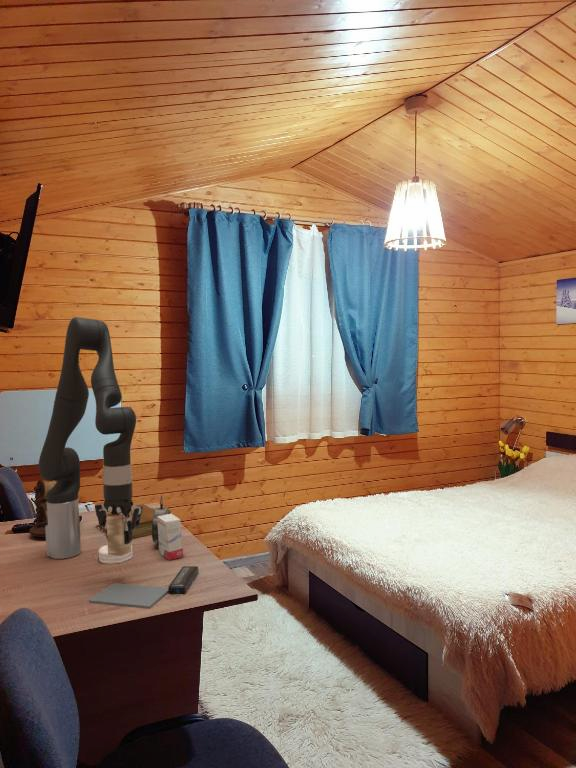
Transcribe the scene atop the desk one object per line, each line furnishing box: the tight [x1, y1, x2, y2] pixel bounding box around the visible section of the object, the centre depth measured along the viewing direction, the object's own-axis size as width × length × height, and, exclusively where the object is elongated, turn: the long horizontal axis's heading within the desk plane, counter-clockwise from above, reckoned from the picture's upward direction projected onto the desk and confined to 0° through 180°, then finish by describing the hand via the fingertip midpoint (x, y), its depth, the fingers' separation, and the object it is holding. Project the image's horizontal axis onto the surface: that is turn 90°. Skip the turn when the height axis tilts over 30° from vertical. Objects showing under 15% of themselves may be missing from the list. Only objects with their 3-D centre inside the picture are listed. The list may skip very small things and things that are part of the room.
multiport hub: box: [167, 565, 199, 596], centre depth 155 cm, size 4×14×2 cm, turn 175°
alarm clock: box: [151, 494, 172, 550], centre depth 187 cm, size 11×5×16 cm, turn 2°
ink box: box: [157, 513, 184, 561], centre depth 177 cm, size 9×5×12 cm, turn 31°
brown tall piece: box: [28, 479, 57, 541], centre depth 202 cm, size 15×15×20 cm
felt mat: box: [88, 582, 169, 609], centre depth 148 cm, size 17×11×1 cm, turn 74°
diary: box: [95, 503, 155, 540], centre depth 206 cm, size 23×19×6 cm
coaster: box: [98, 544, 134, 565], centre depth 176 cm, size 10×10×4 cm
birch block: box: [106, 514, 133, 556], centre depth 158 cm, size 4×4×11 cm
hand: (119, 542), depth 158 cm, fingers closed on birch block, 4 cm apart
